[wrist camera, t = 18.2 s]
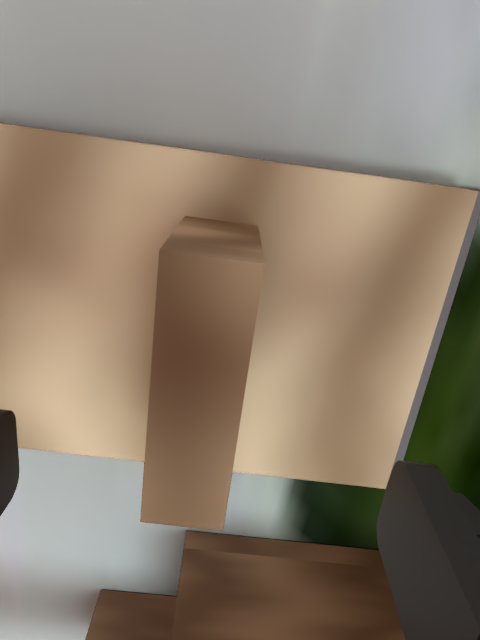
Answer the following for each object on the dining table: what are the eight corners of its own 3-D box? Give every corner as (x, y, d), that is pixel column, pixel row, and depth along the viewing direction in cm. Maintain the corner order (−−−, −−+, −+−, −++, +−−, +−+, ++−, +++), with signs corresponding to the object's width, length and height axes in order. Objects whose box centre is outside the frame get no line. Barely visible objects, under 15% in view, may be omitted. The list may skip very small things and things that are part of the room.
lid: (461, 187, 16) (588, 215, 10) (377, 469, 20) (432, 602, 14) (-12, 120, 15) (-170, 109, 9) (7, 427, 19) (-92, 549, 14)
